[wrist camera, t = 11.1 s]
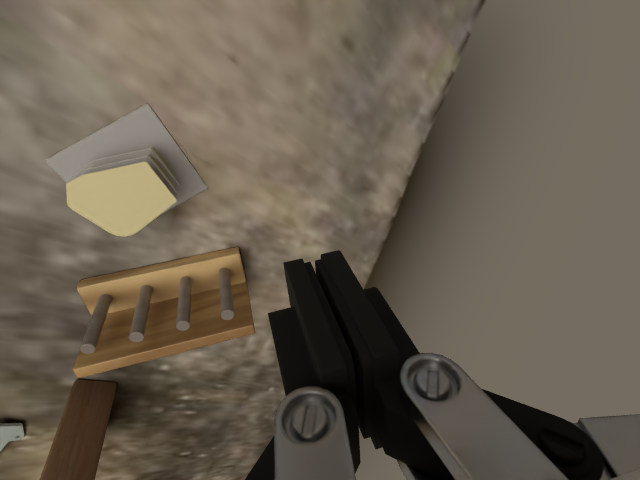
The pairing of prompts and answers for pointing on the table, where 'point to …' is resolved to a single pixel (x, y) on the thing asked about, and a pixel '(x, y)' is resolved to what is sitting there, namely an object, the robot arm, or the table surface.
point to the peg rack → (163, 310)
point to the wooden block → (80, 432)
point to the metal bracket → (10, 433)
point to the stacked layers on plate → (126, 173)
